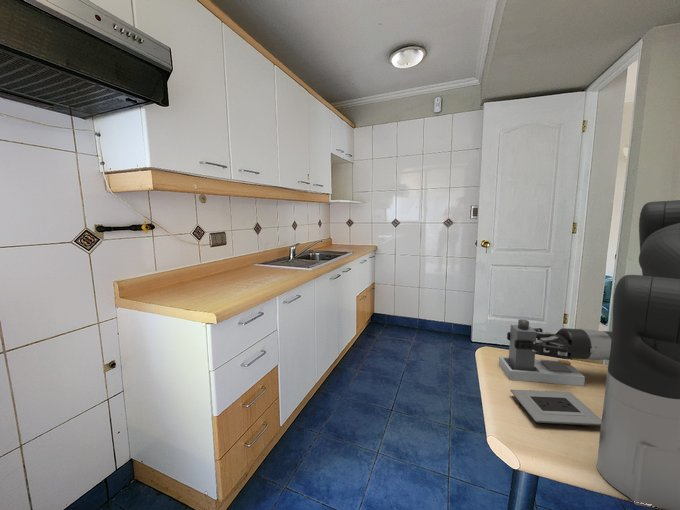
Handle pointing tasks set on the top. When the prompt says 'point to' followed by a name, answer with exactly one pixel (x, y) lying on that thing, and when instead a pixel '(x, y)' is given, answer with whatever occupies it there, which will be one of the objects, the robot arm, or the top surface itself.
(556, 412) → the electrical outlet
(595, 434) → the top surface
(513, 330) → the plug
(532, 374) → the grey rectangular frame
